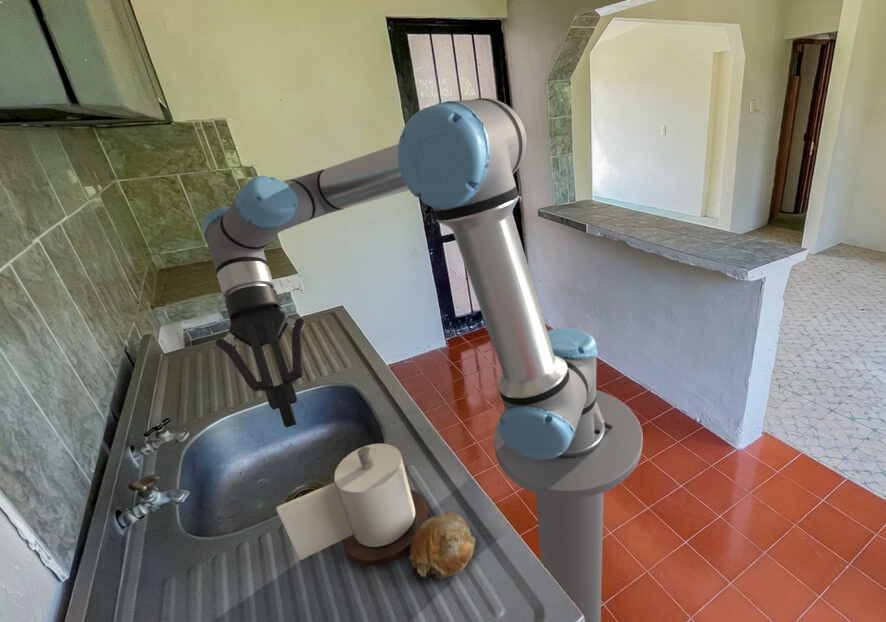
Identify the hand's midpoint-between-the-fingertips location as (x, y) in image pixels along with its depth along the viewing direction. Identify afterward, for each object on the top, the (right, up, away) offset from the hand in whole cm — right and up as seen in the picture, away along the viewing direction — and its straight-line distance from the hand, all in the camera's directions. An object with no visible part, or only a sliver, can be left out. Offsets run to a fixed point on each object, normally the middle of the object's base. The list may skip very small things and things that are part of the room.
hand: (290, 424), depth 72 cm
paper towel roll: (+10, -18, +4) cm, 21 cm away
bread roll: (+24, -21, +1) cm, 32 cm away
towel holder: (+13, -19, +6) cm, 24 cm away
